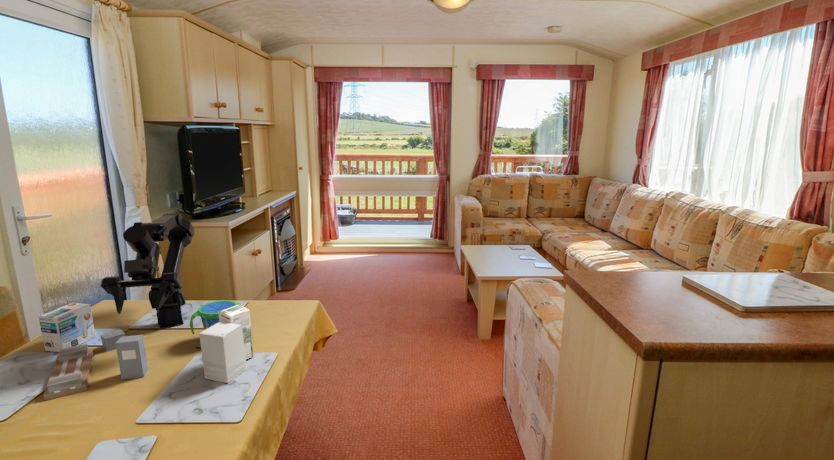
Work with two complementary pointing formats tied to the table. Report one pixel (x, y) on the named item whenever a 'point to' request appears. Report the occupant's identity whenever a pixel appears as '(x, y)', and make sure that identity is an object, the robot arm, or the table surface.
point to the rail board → (70, 372)
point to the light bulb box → (67, 326)
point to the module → (132, 356)
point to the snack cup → (211, 313)
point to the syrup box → (242, 318)
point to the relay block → (111, 339)
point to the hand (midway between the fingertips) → (138, 311)
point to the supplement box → (223, 351)
